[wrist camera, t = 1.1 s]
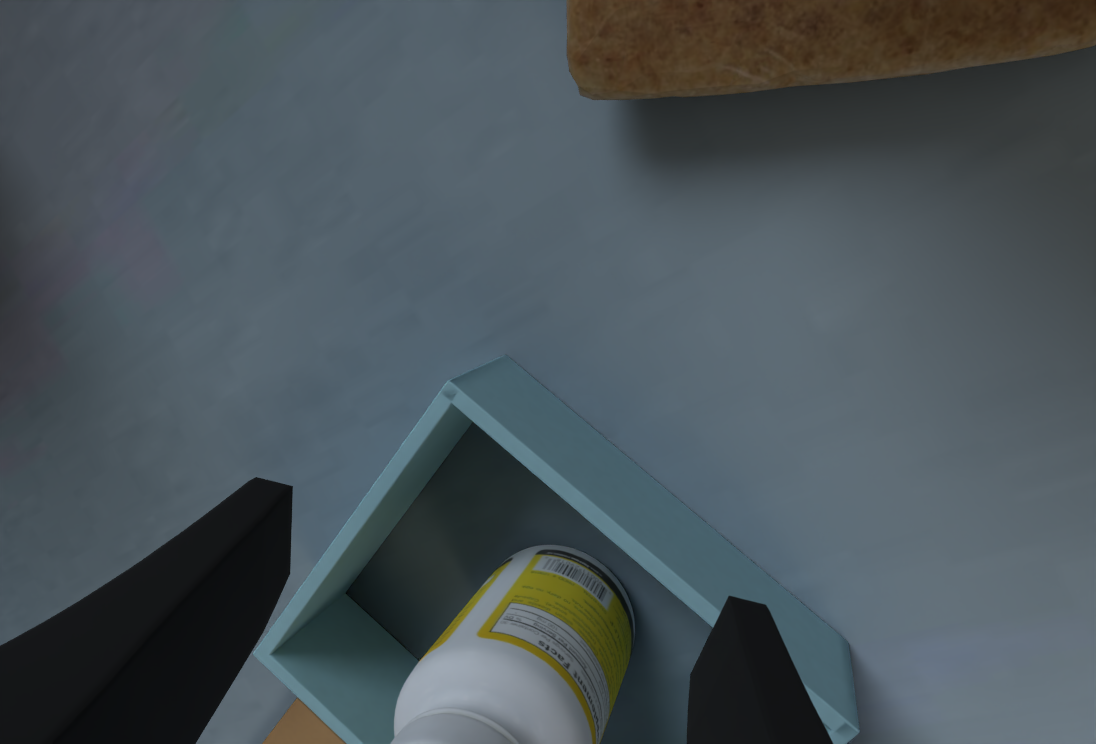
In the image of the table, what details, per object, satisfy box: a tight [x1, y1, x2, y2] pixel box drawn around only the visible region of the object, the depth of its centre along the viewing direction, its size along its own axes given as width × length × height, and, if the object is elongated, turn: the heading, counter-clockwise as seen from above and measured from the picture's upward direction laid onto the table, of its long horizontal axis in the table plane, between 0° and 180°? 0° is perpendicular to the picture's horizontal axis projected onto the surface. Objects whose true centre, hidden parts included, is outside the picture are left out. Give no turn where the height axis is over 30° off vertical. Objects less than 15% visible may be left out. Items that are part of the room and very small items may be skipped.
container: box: [253, 355, 860, 744], centre depth 24 cm, size 14×12×4 cm
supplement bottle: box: [390, 545, 635, 744], centre depth 22 cm, size 5×5×10 cm
